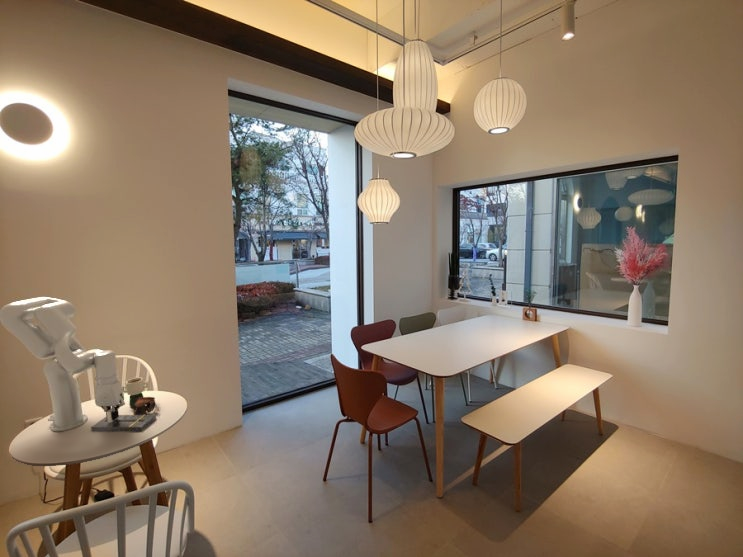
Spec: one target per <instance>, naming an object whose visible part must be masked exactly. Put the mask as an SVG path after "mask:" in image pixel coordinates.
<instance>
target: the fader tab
mask: <svg viewBox="0 0 743 557" xmlns="http://www.w3.org/2000/svg"><path fill="white" fill-rule="evenodd" d="M111 412H112V407H111V409H110V410H108V411H107V420H108V422H113V421H114V420H112V415H111ZM115 420H116V419H115Z"/></svg>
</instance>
